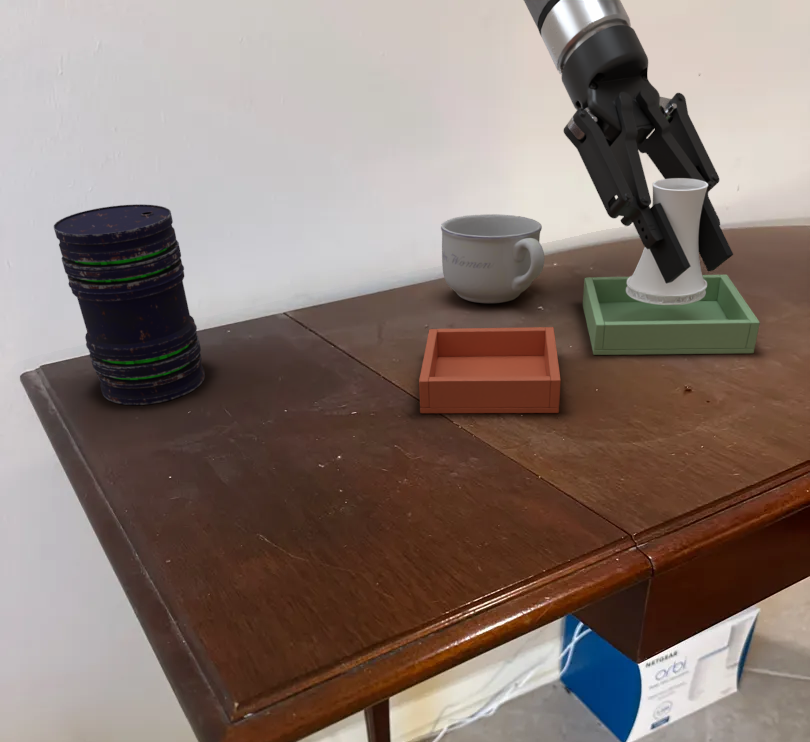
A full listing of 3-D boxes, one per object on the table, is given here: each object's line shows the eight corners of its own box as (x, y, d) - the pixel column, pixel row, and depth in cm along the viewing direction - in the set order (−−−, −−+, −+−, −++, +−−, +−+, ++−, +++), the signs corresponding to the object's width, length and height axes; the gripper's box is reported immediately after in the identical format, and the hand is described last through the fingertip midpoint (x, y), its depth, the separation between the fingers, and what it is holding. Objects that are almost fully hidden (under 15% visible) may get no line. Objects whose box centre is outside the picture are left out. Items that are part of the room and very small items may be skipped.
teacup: (428, 289, 95) (426, 217, 90) (512, 274, 98) (514, 204, 93) (477, 328, 84) (477, 249, 79) (570, 310, 87) (575, 233, 82)
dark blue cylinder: (111, 415, 72) (60, 242, 63) (91, 376, 79) (44, 216, 70) (219, 388, 75) (186, 220, 67) (191, 353, 83) (157, 198, 74)
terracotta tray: (552, 357, 77) (553, 326, 75) (558, 413, 68) (560, 379, 66) (430, 358, 78) (429, 328, 77) (420, 413, 69) (418, 380, 67)
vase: (684, 276, 83) (700, 171, 77) (719, 301, 77) (739, 189, 71) (614, 284, 82) (624, 178, 77) (643, 309, 76) (657, 197, 70)
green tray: (722, 302, 86) (727, 274, 85) (753, 353, 75) (760, 322, 74) (582, 305, 88) (584, 277, 86) (593, 355, 77) (596, 324, 75)
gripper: (642, 72, 84) (738, 271, 82) (502, 92, 77) (603, 310, 75) (688, 12, 77) (795, 227, 75) (539, 28, 70) (652, 266, 68)
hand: (699, 268), depth 75 cm, fingers closed on vase, 5 cm apart
